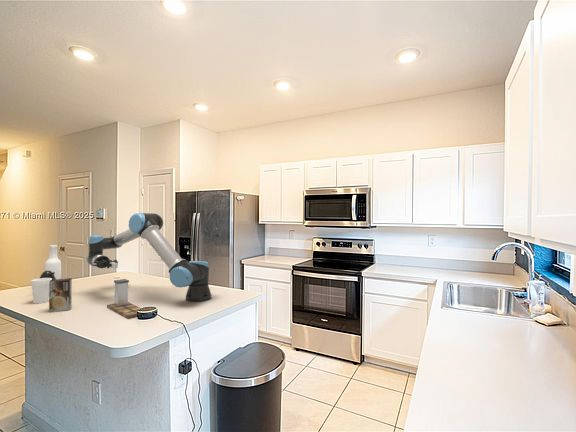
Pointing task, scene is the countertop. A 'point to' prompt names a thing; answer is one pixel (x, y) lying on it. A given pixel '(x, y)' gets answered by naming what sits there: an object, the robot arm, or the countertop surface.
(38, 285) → the foam cup
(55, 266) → the alcohol
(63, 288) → the coffee box
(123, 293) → the silver square canister
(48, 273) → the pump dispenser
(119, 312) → the rail board
